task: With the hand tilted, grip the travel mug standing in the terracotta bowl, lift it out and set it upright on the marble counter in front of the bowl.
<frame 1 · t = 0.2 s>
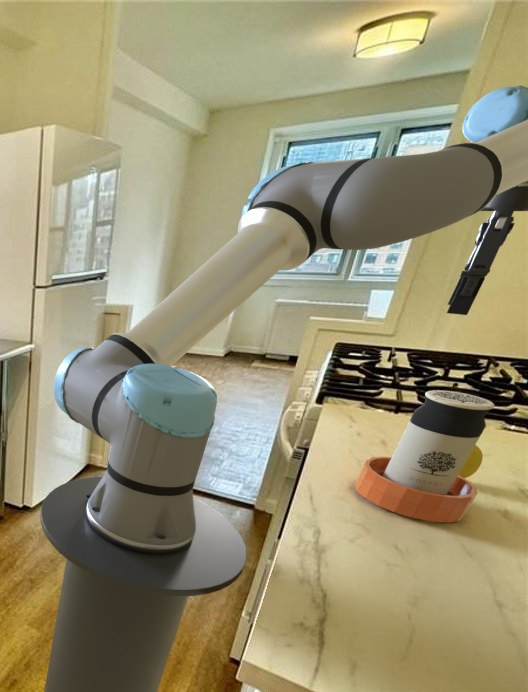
hand: (456, 309, 95), 27 cm above the worktop, tool pointing down, fingers open, 13 cm apart
lemon: (446, 481, 88), on the worktop
travel mug: (405, 499, 81), resting on bowl
bowl: (404, 501, 81), on the worktop
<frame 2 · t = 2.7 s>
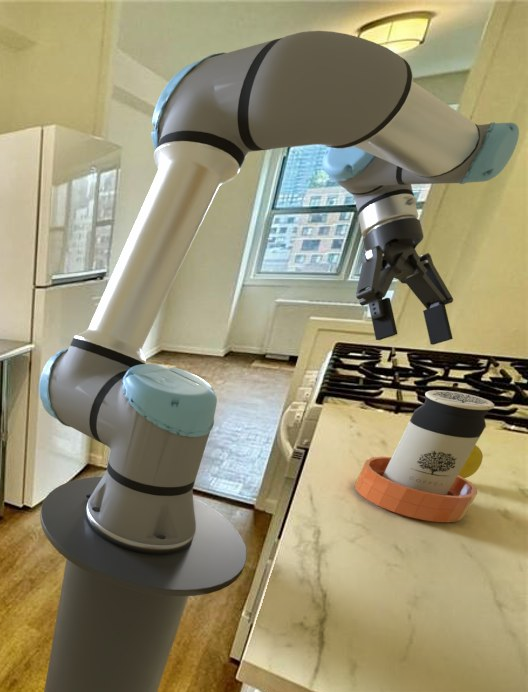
hand: (414, 339, 84), 24 cm above the worktop, tool tilted 35°, fingers open, 13 cm apart
nothing on the worktop moved.
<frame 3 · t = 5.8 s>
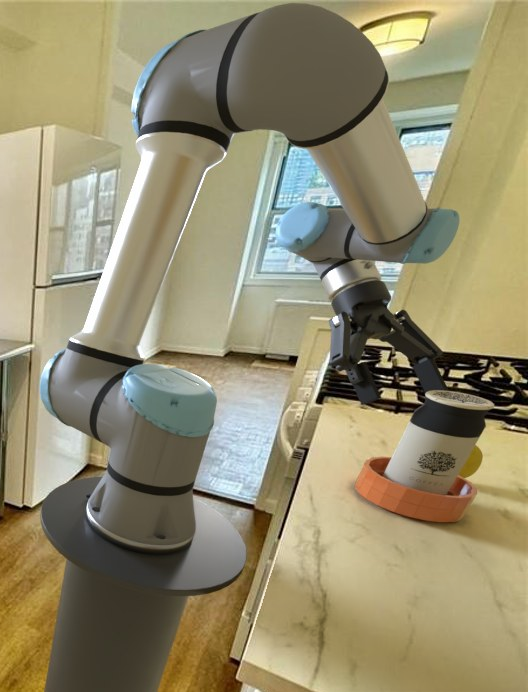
hand: (405, 399, 80), 16 cm above the worktop, tool tilted 45°, fingers open, 13 cm apart
nothing on the worktop moved.
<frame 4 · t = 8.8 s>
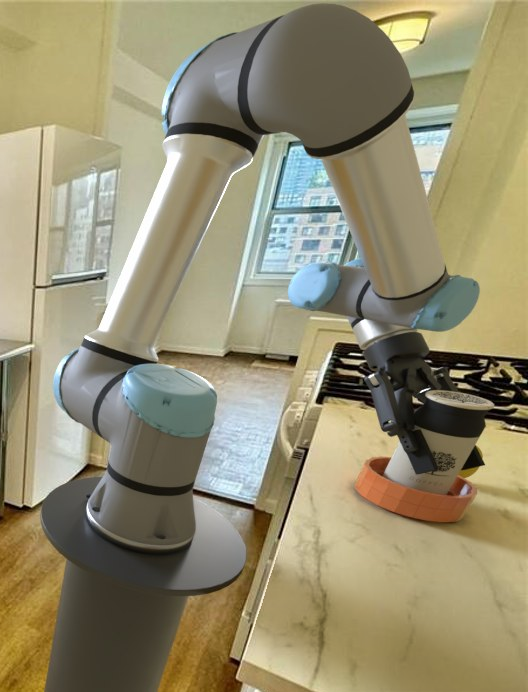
hand: (450, 469, 75), 8 cm above the worktop, tool tilted 45°, fingers closed on travel mug, 8 cm apart
travel mug: (405, 499, 81), resting on bowl, touching gripper
everything else where it was.
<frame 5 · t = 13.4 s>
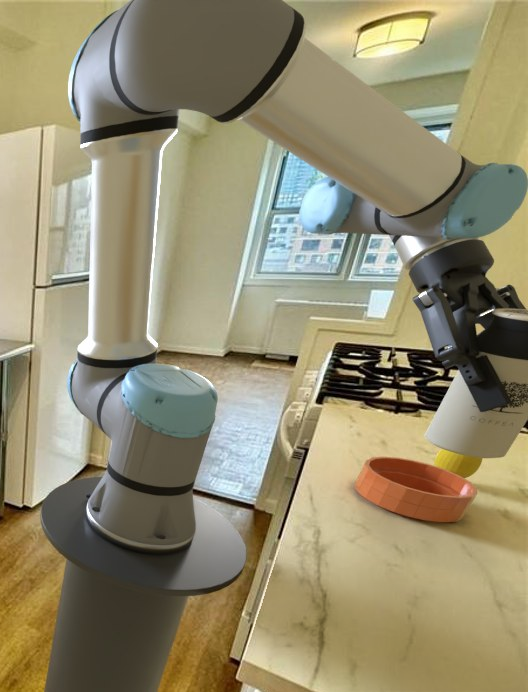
hand: (523, 405, 60), 22 cm above the worktop, tool tilted 45°, fingers closed on travel mug, 8 cm apart
travel mug: (461, 448, 66), point 15 cm above the worktop, touching gripper
everything else where it was.
when the fingers open (7 cm above the worktop, at t = 18.1 s): travel mug stays where it is, on the worktop.
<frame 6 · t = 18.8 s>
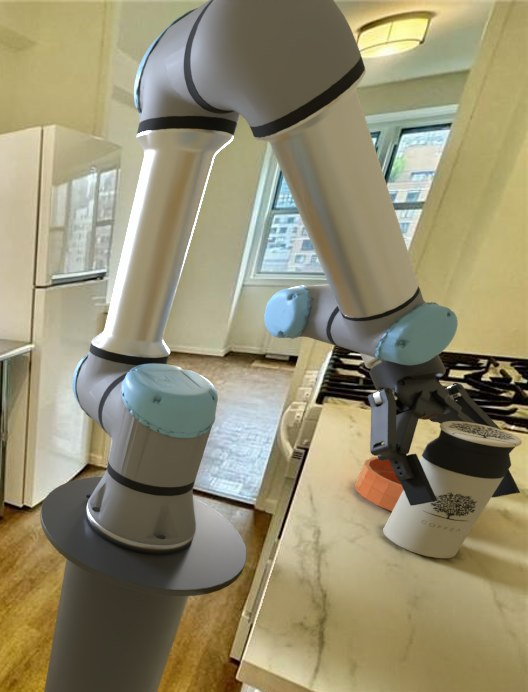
hand: (465, 499, 65), 9 cm above the worktop, tool tilted 45°, fingers open, 13 cm apart
travel mug: (416, 543, 71), on the worktop
everything else where it was.
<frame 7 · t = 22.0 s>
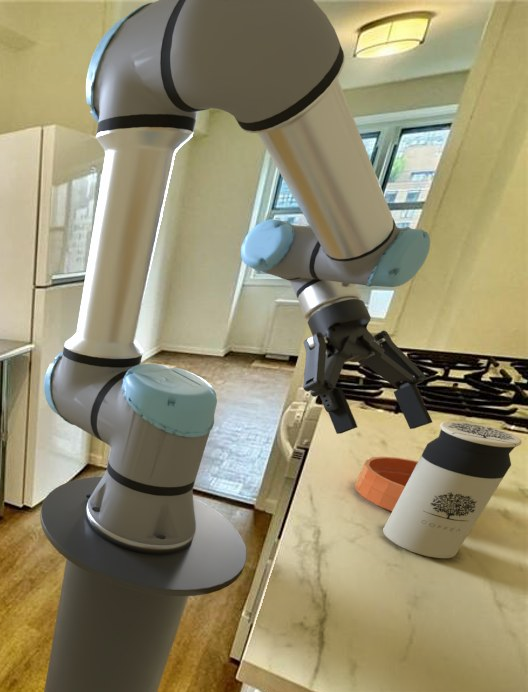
hand: (384, 428, 74), 14 cm above the worktop, tool tilted 45°, fingers open, 13 cm apart
nothing on the worktop moved.
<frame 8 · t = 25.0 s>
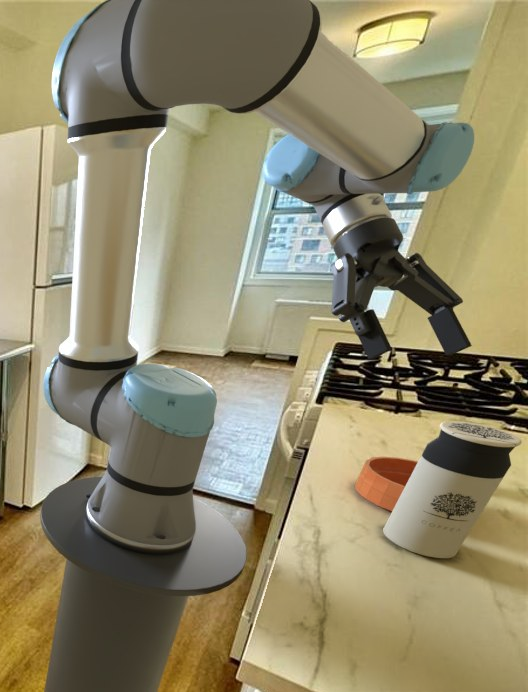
hand: (420, 352, 69), 26 cm above the worktop, tool tilted 45°, fingers open, 13 cm apart
nothing on the worktop moved.
at the end: travel mug inside the target area (0.0 cm from its centre), on the worktop; travel mug tilted 0°; the gripper is holding nothing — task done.
